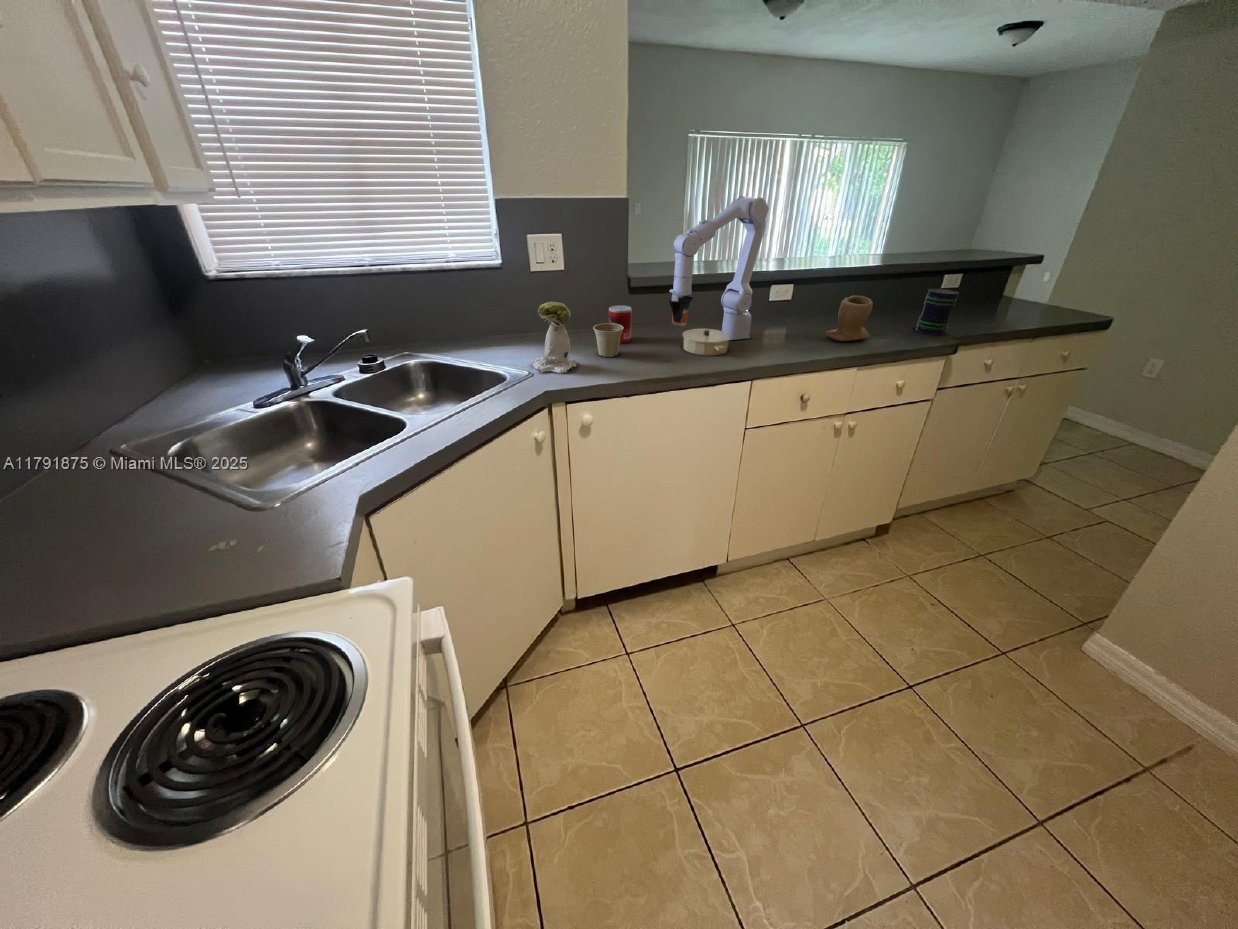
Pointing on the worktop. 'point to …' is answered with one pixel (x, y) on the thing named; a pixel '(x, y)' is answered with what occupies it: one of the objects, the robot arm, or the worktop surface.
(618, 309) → the canned food
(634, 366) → the worktop surface
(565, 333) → the mossy mushroom figurine
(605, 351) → the flower pot
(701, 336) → the pot lid
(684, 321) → the tin can
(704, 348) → the pot
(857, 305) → the brown clay vase
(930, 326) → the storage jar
